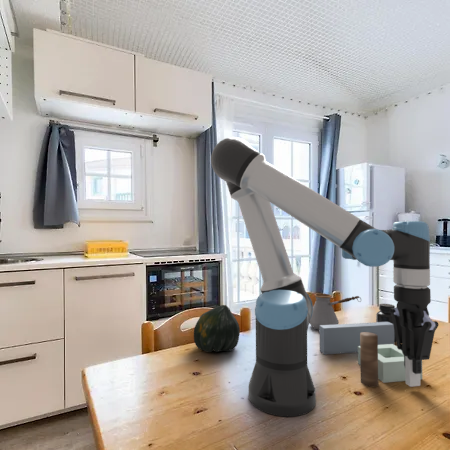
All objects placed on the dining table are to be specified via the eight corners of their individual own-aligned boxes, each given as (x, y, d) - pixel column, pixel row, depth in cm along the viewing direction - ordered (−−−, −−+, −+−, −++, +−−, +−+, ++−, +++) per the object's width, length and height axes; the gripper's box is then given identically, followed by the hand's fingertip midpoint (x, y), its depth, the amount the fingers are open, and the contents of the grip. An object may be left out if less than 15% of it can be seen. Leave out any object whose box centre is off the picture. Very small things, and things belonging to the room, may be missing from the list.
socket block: (383, 382, 76) (383, 362, 77) (357, 363, 87) (357, 346, 87) (422, 379, 78) (422, 359, 78) (392, 361, 89) (392, 343, 89)
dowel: (366, 387, 74) (366, 337, 74) (357, 379, 78) (356, 332, 78) (381, 386, 75) (381, 337, 75) (371, 378, 79) (371, 331, 79)
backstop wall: (324, 354, 94) (323, 328, 94) (319, 350, 97) (319, 325, 97) (394, 349, 98) (394, 324, 98) (388, 346, 101) (387, 321, 101)
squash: (181, 329, 102) (199, 300, 95) (215, 322, 111) (235, 295, 104) (198, 369, 93) (221, 340, 86) (234, 357, 103) (257, 331, 96)
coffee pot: (301, 326, 121) (301, 289, 121) (320, 321, 128) (319, 285, 128) (351, 342, 104) (351, 298, 104) (369, 335, 110) (369, 294, 111)
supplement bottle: (401, 343, 103) (401, 307, 103) (379, 342, 104) (379, 306, 104) (394, 336, 110) (394, 303, 110) (374, 335, 111) (373, 302, 111)
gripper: (449, 290, 67) (450, 398, 67) (405, 280, 80) (407, 371, 80) (418, 291, 66) (420, 401, 66) (379, 281, 79) (380, 373, 79)
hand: (412, 384), depth 73 cm, fingers closed
